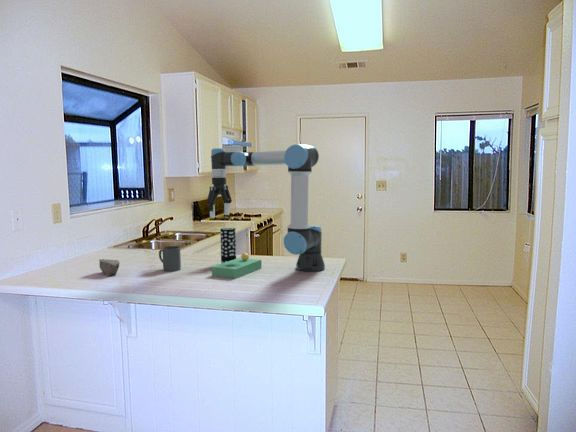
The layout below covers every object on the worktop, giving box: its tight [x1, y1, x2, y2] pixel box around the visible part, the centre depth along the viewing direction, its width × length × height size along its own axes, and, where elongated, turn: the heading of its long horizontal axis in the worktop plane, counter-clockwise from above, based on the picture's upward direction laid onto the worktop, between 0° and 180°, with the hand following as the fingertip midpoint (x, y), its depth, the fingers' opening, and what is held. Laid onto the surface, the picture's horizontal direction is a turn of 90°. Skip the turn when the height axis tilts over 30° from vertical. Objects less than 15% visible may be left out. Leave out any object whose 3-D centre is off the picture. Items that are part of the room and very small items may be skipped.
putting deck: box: [211, 257, 262, 279], centre depth 237 cm, size 14×25×5 cm, turn 153°
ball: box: [240, 252, 250, 261], centre depth 243 cm, size 4×4×4 cm
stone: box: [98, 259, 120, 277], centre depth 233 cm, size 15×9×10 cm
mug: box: [158, 245, 182, 272], centre depth 244 cm, size 14×9×12 cm
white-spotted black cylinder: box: [219, 227, 237, 264], centre depth 255 cm, size 8×8×20 cm
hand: (219, 216), depth 251 cm, fingers open, 13 cm apart
